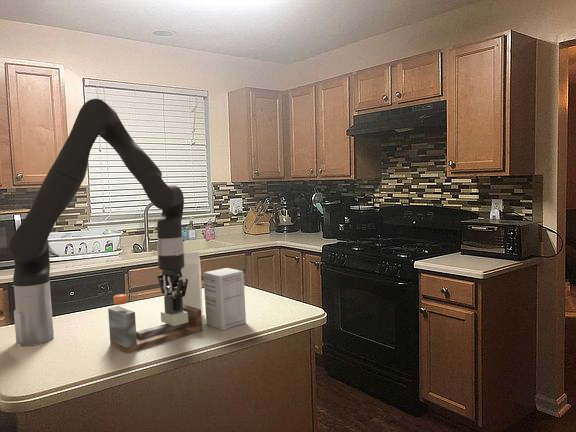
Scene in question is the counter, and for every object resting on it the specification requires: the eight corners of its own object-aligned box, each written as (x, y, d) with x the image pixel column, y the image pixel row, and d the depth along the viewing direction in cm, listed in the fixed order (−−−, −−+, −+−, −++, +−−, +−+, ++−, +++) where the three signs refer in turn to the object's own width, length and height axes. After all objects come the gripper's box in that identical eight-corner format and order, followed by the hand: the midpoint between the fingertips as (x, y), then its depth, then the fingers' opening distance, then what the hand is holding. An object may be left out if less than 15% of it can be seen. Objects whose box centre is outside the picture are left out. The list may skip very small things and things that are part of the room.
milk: (185, 316, 159) (181, 251, 158) (203, 314, 160) (199, 250, 158) (182, 321, 153) (179, 254, 152) (201, 319, 154) (198, 253, 152)
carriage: (173, 326, 137) (172, 299, 137) (161, 321, 142) (159, 295, 142) (188, 322, 141) (186, 295, 140) (175, 317, 146) (174, 292, 145)
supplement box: (229, 317, 155) (227, 267, 154) (247, 323, 149) (244, 270, 147) (205, 324, 149) (202, 271, 148) (222, 330, 142) (219, 275, 141)
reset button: (117, 305, 127) (116, 298, 127) (111, 303, 129) (111, 296, 129) (130, 302, 129) (129, 295, 129) (124, 300, 132) (123, 293, 132)
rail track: (126, 353, 126) (124, 314, 125) (110, 344, 133) (108, 308, 132) (202, 330, 143) (200, 296, 142) (184, 324, 150) (182, 291, 149)
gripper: (147, 252, 142) (150, 308, 144) (172, 256, 132) (175, 316, 134) (169, 249, 147) (172, 303, 149) (194, 252, 137) (197, 310, 139)
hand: (174, 309), depth 141 cm, fingers closed on carriage, 3 cm apart
